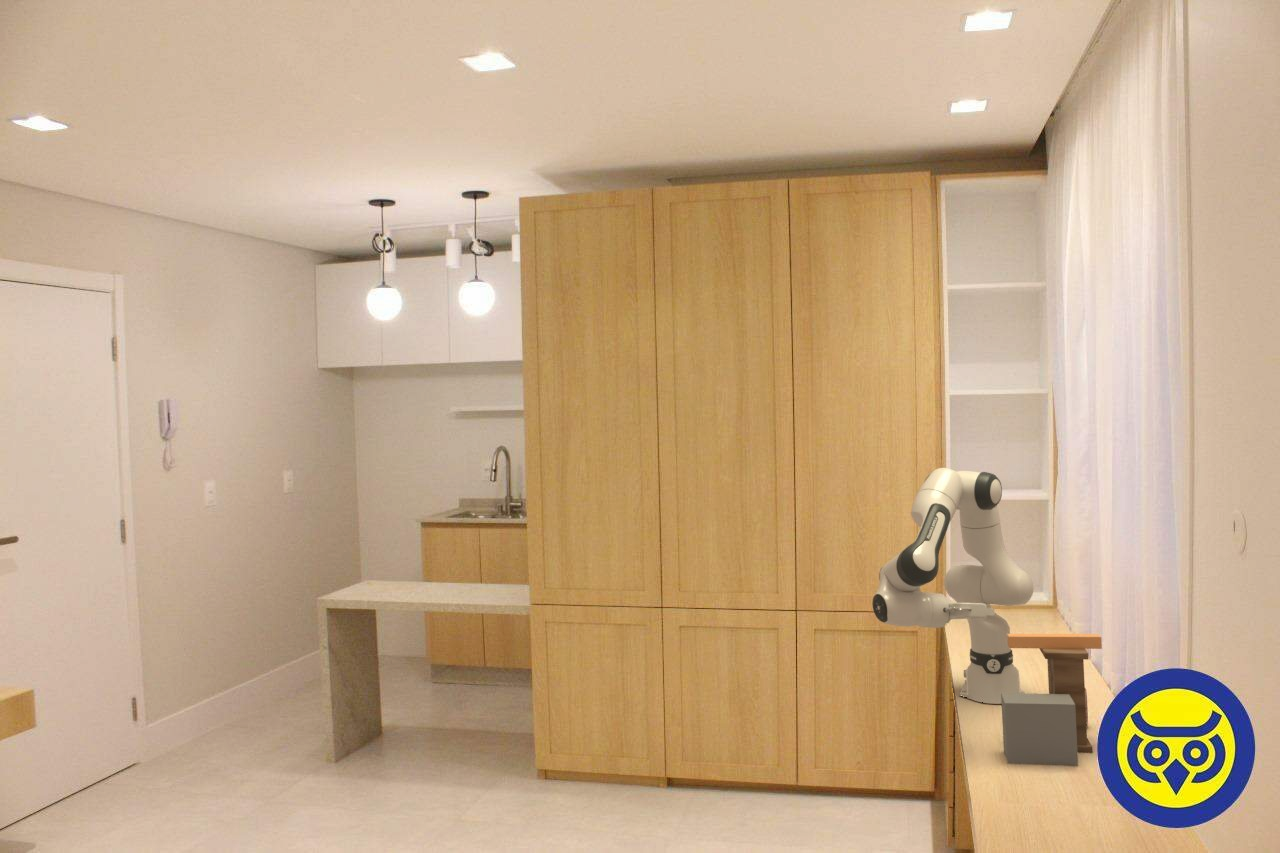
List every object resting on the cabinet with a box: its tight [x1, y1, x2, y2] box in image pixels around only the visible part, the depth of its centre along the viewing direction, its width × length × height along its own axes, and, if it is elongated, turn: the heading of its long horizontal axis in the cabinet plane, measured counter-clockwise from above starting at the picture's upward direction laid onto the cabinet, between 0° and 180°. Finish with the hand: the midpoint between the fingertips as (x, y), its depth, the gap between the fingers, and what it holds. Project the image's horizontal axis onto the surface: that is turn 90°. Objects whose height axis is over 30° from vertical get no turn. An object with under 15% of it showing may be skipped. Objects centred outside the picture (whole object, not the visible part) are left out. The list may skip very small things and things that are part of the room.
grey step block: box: [1001, 692, 1079, 767], centre depth 240 cm, size 8×16×15 cm, turn 76°
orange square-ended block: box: [1007, 633, 1103, 650], centre depth 248 cm, size 3×22×3 cm, turn 76°
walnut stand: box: [1038, 648, 1094, 754], centre depth 248 cm, size 12×10×25 cm
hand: (982, 612), depth 253 cm, fingers open, 8 cm apart
